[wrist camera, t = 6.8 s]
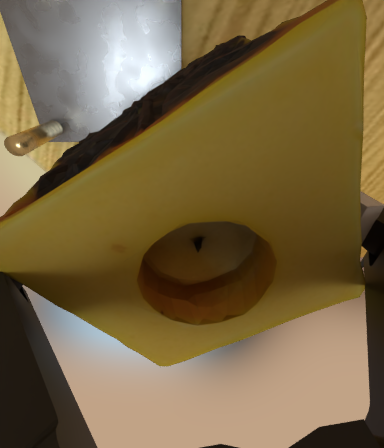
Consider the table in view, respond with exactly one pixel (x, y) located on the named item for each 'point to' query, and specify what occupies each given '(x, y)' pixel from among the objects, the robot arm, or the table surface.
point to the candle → (210, 196)
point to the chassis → (88, 61)
